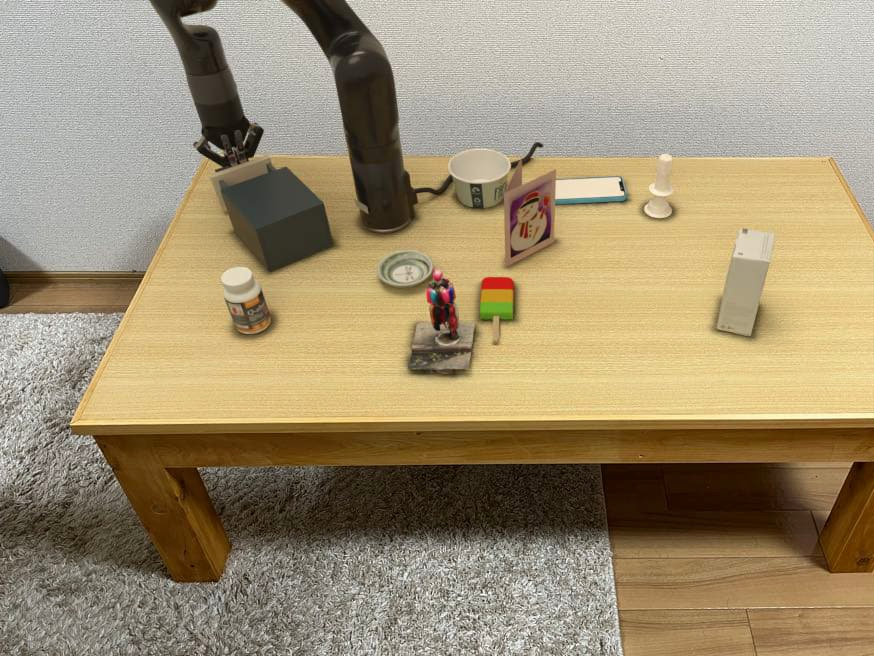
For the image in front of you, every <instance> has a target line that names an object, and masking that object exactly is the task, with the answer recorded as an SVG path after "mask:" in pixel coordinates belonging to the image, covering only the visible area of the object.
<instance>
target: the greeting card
mask: <svg viewBox="0 0 874 656" xmlns="http://www.w3.org/2000/svg"><path fill="white" fill-rule="evenodd" d="M522 159H523V157H521V158H520V159H519V160H520V162H519V164H518V166H516V168H515V170H514V173H513V174H512V176H511V177H510V180H509V182H508V184H507V185H506V188H505V192H504V198H503V214H504V215H503V217H504V220H503V221H504V252H505V258H504V259H505V268H507V267H509V266H511V265H513V264H515V263H516V262H518V261H521V260H523V259H524V258H526V257H528V256H529V255H532V254H533V253H535V252H537V251H539V250H541V249H544V248H545V247H547V246H549V245H552V243H554V242H555V221H556V220H555V219H556V218H555V216H556V204H555V191H556V179H557V168H554V169H553V170H551V171H549V172H546V173H545V174H542V175H540V176H537V177H536V178H534V179H531V180H529V181H528V182H525V183H523V164H522Z"/></svg>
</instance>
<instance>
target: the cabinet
mask: <svg viewBox="0 0 874 656" xmlns="http://www.w3.org/2000/svg"><path fill="white" fill-rule="evenodd" d="M220 191H221V194H222V197H223V200H224V203H225V206H226V208H227V211H226V212H227V214H228V217H229V221H230V222H231V226H232V228H233V232H234V233H235V234H236V236H237V237H238V238H239V239H240V240H241V241H242V242H243V244H244V245H245V246H246V247H247V248H248V250H249V252H251V253H252V254H253V256H254V257H255V258H256V259H257V260H258V262H260V263H261V265H262V266H263V267H264V268H265V269H266V270H267V272H268V273H271V272H274V271H277V270H279V269H281V268H283V267H286V266H288V265H291V264H293V263H295V262H298V261H301V260H303V259H305V258H308V257H310V256H313V255H315V254H317V253H319V252H322V251H324V250H327V249H330V248H332V247H334V245H335V244H334V240H333V236H332V232H331V227H330V222H329V218H328V215H327V210H326V206H325V203H324V201H322V199H321V198H320V197H318V195H317V194H315V193H314V192H313V191H312V190H311V189H310V188H309V187H308V186H307V185H306V184H305V183H304V182H303V181H302V180H301V179H300V178H299V177H298V176H297V175H296V174H295V173H294V172H292V170H291V169H290V168H289V167H288V166H283V167H280V168H278V169H277V168H276V170H274V171H272V172H269V173H266V174H263V175H260V176H258V177H255V178H252V179H249V180H246V181H243V182H241V183H238V184H235V185H232V186H229V187H226V188H224V189H221V190H220Z"/></svg>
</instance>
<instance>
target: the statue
mask: <svg viewBox="0 0 874 656" xmlns="http://www.w3.org/2000/svg"><path fill="white" fill-rule="evenodd" d="M432 279H433V280H432V281H429V282H428V285H427V287H426V290H425V291H426V293H425V294H426V296H425V297H426V302H427V303H428V304H429V317H430V322H417V323H416V328H415V333H414V337H413V341H412V345H411V349H410V350H411V351H410V352H411V355H410V358H409V362H408V365H407V367H406V369H407V370H423V371H425V372H426V373H428V374H432V373H433V371H435V370H436V372H438V373H440V374H443V375H444V374H445V375H450V374H451V373H452V372H455V371H456V370H461V369H462V370H463V369H467V370H468V369H469V366H470V362H471V356H472V354H473V353H472V345H474V334H475V326H476V323H475V322H460V312H459V307H458V306H457V303H456V302H455V300H456V298H457V295H456V291H455V287H454V286H455V285H454V283H453V281H451V280H450V279H449V278H445V276H444V272H443V271H442V270H441V269H439V268H435V269H434V268H433V271H432Z"/></svg>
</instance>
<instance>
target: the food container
mask: <svg viewBox="0 0 874 656" xmlns="http://www.w3.org/2000/svg"><path fill="white" fill-rule="evenodd" d="M511 169H512V167H511V161H510V159H509V157H508V156H506V155H505V153H502V152H500V151H498V150H494V149H490V148H470V149H467V150H463V151H460V152H458V153H456V154H455V155H453V156H452V157H451V158H450V159H449V161H448V163H447V170H448V173H449V175H452V178H453V180H452V181H453V186H454V189H455V193H456V196H457V199H458V200H459V202H460V203H461V204H463V205H464V206H466V207H469V208H475V209H486V208H490V207H494V206H496V205H498V204H499V203H501V202H502V201H503V200H504V192H505V190H506V188H507V181H508V175H509V173H510V171H511Z"/></svg>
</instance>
